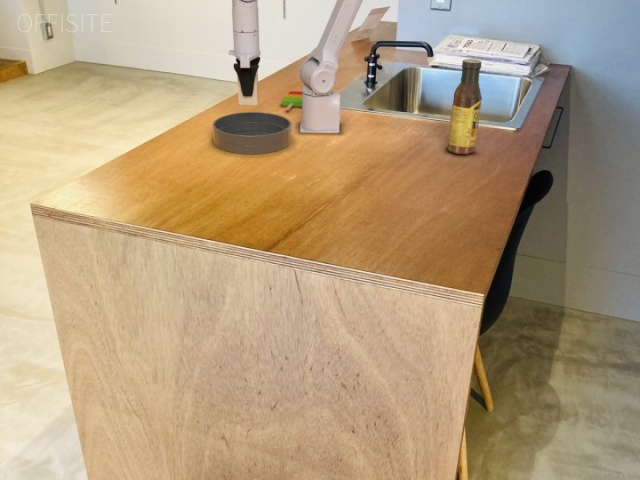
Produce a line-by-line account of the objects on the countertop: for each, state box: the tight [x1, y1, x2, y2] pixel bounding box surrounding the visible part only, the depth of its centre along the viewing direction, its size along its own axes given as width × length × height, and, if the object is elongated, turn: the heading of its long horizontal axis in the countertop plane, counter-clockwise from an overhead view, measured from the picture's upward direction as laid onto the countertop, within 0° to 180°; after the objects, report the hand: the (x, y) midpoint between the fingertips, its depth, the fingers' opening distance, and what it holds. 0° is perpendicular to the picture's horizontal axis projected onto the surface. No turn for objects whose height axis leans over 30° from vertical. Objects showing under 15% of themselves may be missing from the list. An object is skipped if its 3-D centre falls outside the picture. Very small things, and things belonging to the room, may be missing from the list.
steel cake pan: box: [212, 111, 293, 155], centre depth 158 cm, size 18×18×4 cm
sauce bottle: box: [447, 58, 483, 155], centre depth 152 cm, size 7×6×20 cm
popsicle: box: [281, 90, 302, 111], centre depth 185 cm, size 6×15×2 cm, turn 169°
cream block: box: [236, 69, 259, 106], centre depth 158 cm, size 4×4×8 cm
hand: (248, 92), depth 159 cm, fingers closed on cream block, 4 cm apart
